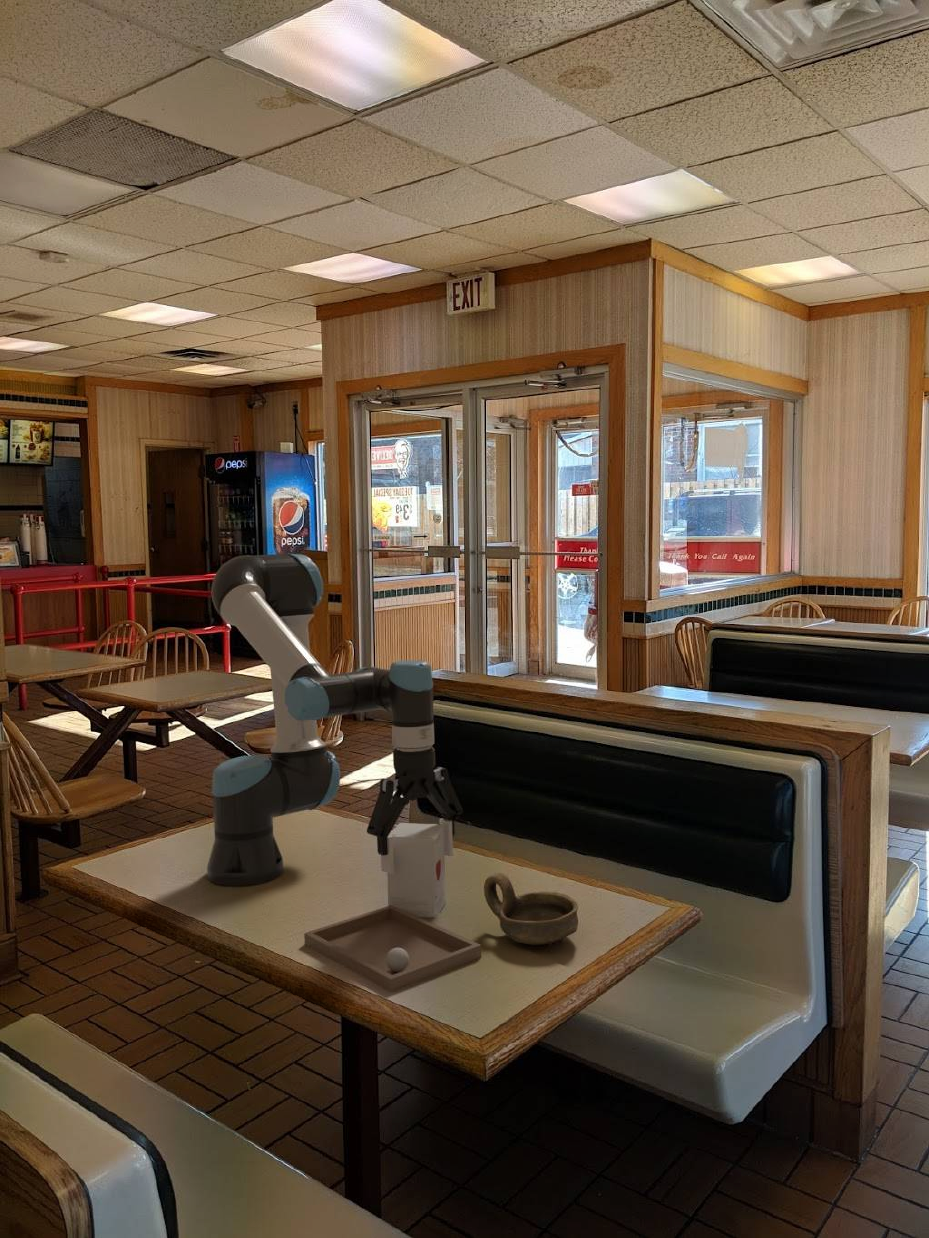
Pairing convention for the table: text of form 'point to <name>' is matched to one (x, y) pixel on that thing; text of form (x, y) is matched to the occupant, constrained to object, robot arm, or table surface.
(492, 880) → the bowl
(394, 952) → the ball
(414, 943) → the tray
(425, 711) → the robot arm
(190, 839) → the table surface
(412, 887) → the supplement box
